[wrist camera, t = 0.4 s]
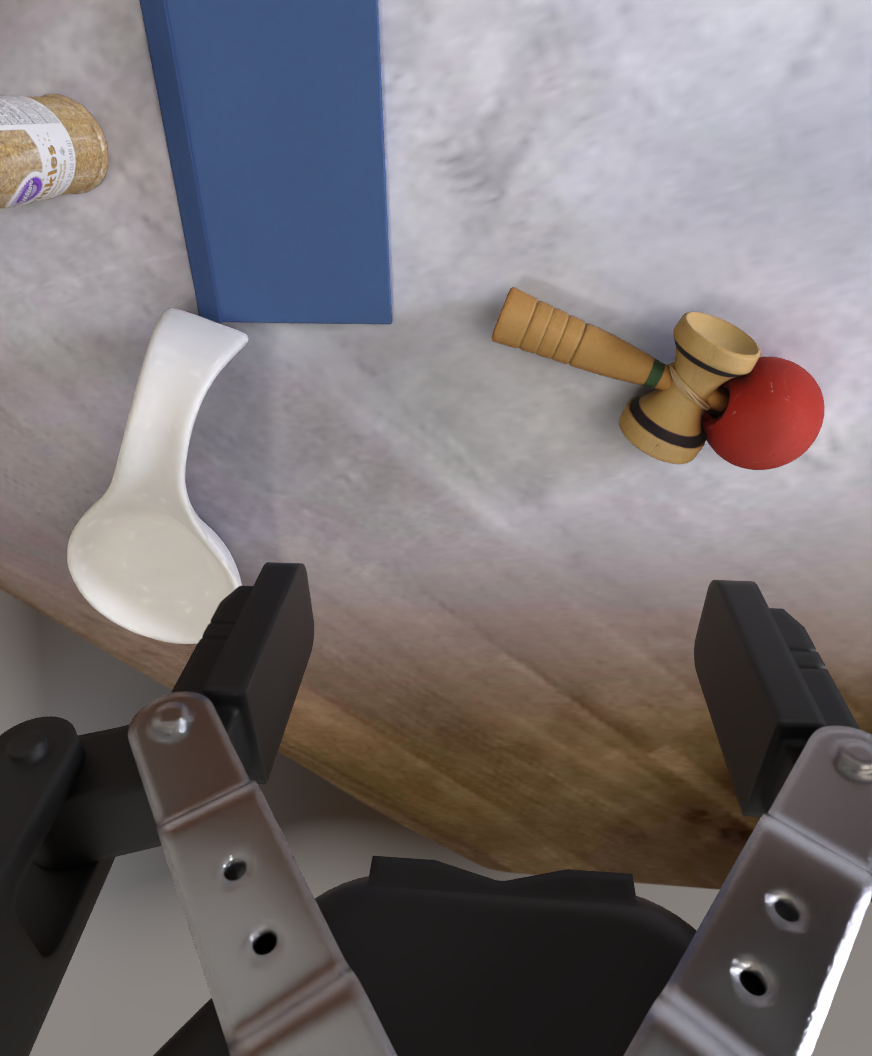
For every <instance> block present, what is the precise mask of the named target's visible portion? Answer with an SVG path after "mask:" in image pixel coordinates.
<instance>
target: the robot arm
mask: <svg viewBox="0 0 872 1056" xmlns="http://www.w3.org/2000/svg"><path fill="white" fill-rule="evenodd" d="M313 639H314V620H313V613H312V606H311V599H310V592H309V585H308V578H307V572H306V568H305V566H304V564H300V563H273V562H267V563H265V565H264V566H263V568H262V570H261V572H260V574H259V576H258V578H257V580H256V582H255V584H254V586H239V587H237V588H236V589H235V590H234V591H233V592H231V593H230V594H229V595H228V596H227V597H226V598H224V599H223V600H222V601H221V602H220V604H219V605H218V607H217V609H216V611H215V613H214V615H213V617H212V618H211V623H210V624H208V626H207V628H206V629H205V631H204V633H203V637H202V639H200V640H199V642H198V644H197V646H196V648H195V650H194V652H193V653H192V655H191V657H190V659H189V661H188V663H187V664H186V666H185V668H184V670H183V672H182V674H181V675H180V677H179V679H178V681H177V683H176V685H175V686H174V688H173V690H172V692H171V693H170V694H167V695H164V696H161V697H159V698H157V699H155V700H153V701H151V702H150V703H148V704H147V705H145V706H144V707H143V708H142V709H141V710H140V711H139V712H138V713H137V714H136V715H135V716H134V718H133V719H132V721H131V723H130V724H129V725H126V726H122V727H118V728H114V729H109V730H103V731H98V732H94V733H89V734H84V735H79V736H78V735H77V733H76V730H75V728H74V727H73V725H72V724H71V723H70V722H69V721H67V720H65V719H63V718H59V717H41V718H35V719H31V720H28V721H25V722H23V723H20V724H18V725H16V726H14V727H12V728H10V729H9V730H7V731H6V732H4V733H3V734H2V735H1V736H0V1056H29V1054H30V1052H31V1050H32V1047H33V1045H34V1043H35V1041H36V1038H37V1036H38V1034H39V1031H40V1029H41V1027H42V1024H43V1022H44V1020H45V1018H46V1015H47V1013H48V1011H49V1008H50V1006H51V1004H52V1002H53V999H54V997H55V995H56V992H57V990H58V988H59V985H60V983H61V981H62V978H63V976H64V974H65V972H66V969H67V967H68V965H69V962H70V960H71V958H72V956H73V953H74V951H75V949H76V946H77V944H78V942H79V940H80V937H81V935H82V933H83V930H84V928H85V926H86V923H87V921H88V919H89V916H90V914H91V912H92V910H93V907H94V905H95V903H96V900H97V898H98V896H99V894H100V891H101V889H102V887H103V884H104V882H105V880H106V877H107V875H108V873H109V871H110V868H111V866H112V864H113V861H114V859H115V857H116V856H120V855H125V854H128V853H133V852H137V851H141V850H145V849H150V848H154V847H158V846H162V847H163V850H164V853H165V856H166V859H167V862H168V866H169V868H170V871H171V875H172V878H173V881H174V884H175V887H176V890H177V893H178V896H179V899H180V902H181V905H182V908H183V911H184V914H185V917H186V920H187V923H188V927H189V930H190V933H191V935H192V939H193V942H194V945H195V948H196V950H197V954H198V957H199V960H200V963H201V966H202V969H203V972H204V975H205V978H206V981H207V984H208V987H209V990H210V994H211V997H212V998H211V999H210V1000H209V1001H208V1002H207V1003H206V1004H205V1005H204V1006H203V1007H202V1008H201V1009H200V1010H199V1011H198V1012H197V1013H196V1014H195V1015H194V1016H193V1017H192V1018H191V1019H190V1020H189V1021H188V1022H187V1023H186V1024H185V1025H184V1026H183V1027H181V1028H180V1029H179V1030H178V1031H177V1033H175V1035H173V1037H171V1038H170V1039H169V1040H168V1042H166V1043H165V1044H164V1045H163V1046H162V1047H161V1048H160V1049H159V1050H158V1051H157V1052H156V1053H155V1054H154V1055H153V1056H811V1054H812V1051H813V1049H814V1046H815V1043H816V1041H817V1038H818V1036H819V1033H820V1030H821V1027H822V1025H823V1022H824V1019H825V1017H826V1014H827V1012H828V1009H829V1006H830V1004H831V1001H832V998H833V996H834V993H835V991H836V988H837V985H838V983H839V980H840V977H841V974H842V972H843V969H844V967H845V964H846V961H847V959H848V956H849V953H850V951H851V948H852V946H853V943H854V940H855V938H856V935H857V932H858V930H859V927H860V924H861V922H862V919H863V916H864V914H865V911H866V908H867V906H868V903H869V901H870V900H872V735H871V734H869V733H867V732H864V731H862V730H860V728H859V727H858V725H857V723H856V721H855V719H854V718H853V716H852V714H851V712H850V710H849V708H848V707H847V705H846V703H845V701H844V699H843V697H842V696H841V694H840V692H839V690H838V688H837V686H836V685H835V683H834V681H833V679H832V677H831V675H830V674H829V672H828V670H827V669H825V664H824V663H823V661H822V659H821V657H820V655H819V653H818V652H816V651H815V646H814V644H813V642H812V641H811V639H810V637H809V635H808V633H807V632H806V630H805V628H804V627H803V626H802V625H801V624H800V623H799V622H798V621H796V620H795V619H794V618H793V617H792V616H791V615H789V614H788V613H787V612H786V611H785V610H784V609H775V608H769V607H768V605H767V603H766V601H765V599H764V597H763V595H762V593H761V591H760V589H759V587H758V586H757V584H756V583H755V582H752V581H726V580H713V581H712V582H711V583H710V585H709V587H708V591H707V595H706V599H705V603H704V607H703V611H702V615H701V619H700V623H699V627H698V631H697V635H696V639H695V645H694V661H695V668H696V672H697V675H698V678H699V681H700V684H701V688H702V691H703V694H704V697H705V700H706V703H707V706H708V709H709V712H710V715H711V718H712V722H713V725H714V728H715V731H716V734H717V737H718V740H719V743H720V746H721V749H722V752H723V756H724V759H725V762H726V765H727V768H728V771H729V774H730V777H731V780H732V783H733V786H734V790H735V793H736V796H737V799H738V802H739V805H740V808H741V811H742V814H743V816H751V817H761V819H760V820H759V822H758V824H757V825H756V827H755V829H754V831H753V832H752V834H751V836H750V838H749V840H748V841H747V843H746V845H745V847H744V848H743V850H742V852H741V854H740V856H739V857H738V859H737V861H736V863H735V864H734V866H733V868H732V870H731V871H730V873H729V875H728V877H727V879H726V880H725V882H724V884H723V886H722V887H721V889H720V891H719V893H718V894H717V896H716V898H715V900H714V902H713V904H712V905H711V907H710V909H709V911H708V912H707V914H706V916H705V918H704V919H703V921H702V923H701V925H700V926H699V928H698V930H697V931H696V930H695V929H694V928H693V927H692V926H690V925H689V924H688V923H686V922H685V921H684V920H682V919H681V918H680V917H678V916H677V915H675V914H674V913H672V912H670V911H668V910H666V909H665V908H663V907H662V906H660V905H657V904H655V903H653V902H651V901H649V900H646V899H644V898H641V897H638V896H636V894H635V888H634V882H633V875H632V874H626V873H612V872H597V871H583V870H569V869H567V870H561V871H556V872H550V873H545V874H540V875H534V876H529V877H524V878H518V879H513V880H508V881H498V880H493V879H490V878H487V877H484V876H481V875H478V874H475V873H472V872H469V871H466V870H463V869H460V868H457V867H454V866H451V865H448V864H445V863H442V862H439V861H436V860H425V859H411V858H397V857H382V856H373V857H372V863H371V869H370V875H369V876H368V877H363V878H358V879H355V880H352V881H349V882H346V883H343V884H341V885H339V886H337V887H335V888H332V889H330V890H328V891H327V892H325V893H323V894H322V895H320V896H319V897H317V898H316V899H315V898H314V897H313V894H312V892H311V890H310V888H309V887H308V884H307V882H306V880H305V878H304V876H303V874H302V872H301V870H300V869H299V866H298V864H297V862H296V860H295V858H294V856H293V854H292V852H291V850H290V848H289V846H288V844H287V842H286V840H285V838H284V836H283V834H282V832H281V830H280V828H279V826H278V824H277V822H276V820H275V818H274V816H273V814H272V812H271V810H270V808H269V806H268V804H267V802H266V800H265V798H264V796H263V794H262V792H261V790H260V788H259V786H258V784H267V781H268V778H269V775H270V772H271V770H272V766H273V764H274V761H275V757H276V755H277V752H278V749H279V746H280V743H281V740H282V737H283V734H284V731H285V728H286V725H287V722H288V719H289V716H290V713H291V710H292V707H293V704H294V701H295V698H296V695H297V692H298V690H299V687H300V684H301V681H302V678H303V675H304V672H305V669H306V666H307V663H308V660H309V657H310V654H311V651H312V646H313Z"/></svg>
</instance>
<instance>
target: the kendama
mask: <svg viewBox="0 0 872 1056" xmlns="http://www.w3.org/2000/svg"><path fill="white" fill-rule="evenodd" d="M674 339H675V344H676V358H675V362H672V363H671V364H669V365H666V364H663V363H661V362H660V361H659V360H657V359H655V358H653V357H652V356H650V355H648V354H647V353H645V352H643V351H641V350H640V349H638V348H636V347H634V346H633V345H631V344H629V343H627V342H625V341H623V340H621V339H620V338H618V337H616V336H614V335H612V334H610V333H608V332H606V331H604V330H602V329H600V328H597V327H595V326H593V325H591V324H585V322H584V321H582V320H580V319H578V318H576V317H574V316H569V315H568V314H567V313H565V312H563V311H561V310H559V309H556V308H554V307H552V306H550V305H548V304H546V303H544V302H541V301H537V299H536V298H534V297H532V296H530V295H528V294H526V293H524V292H522V291H520V290H518V289H516V288H514V287H513V288H511V289H510V291H509V293H508V295H507V297H506V300H505V303H504V305H503V307H502V310H501V313H500V315H499V317H498V320H497V323H496V325H495V328H494V331H493V335H492V341H494V342H497V343H500V344H504V345H507V346H511V347H514V348H519V347H520V348H521V350H524V351H528V352H531V353H536V354H538V355H540V356H543V357H547V358H552V359H553V360H556V361H558V362H562V363H564V364H567V363H569V364H570V365H571V366H573V367H577V368H580V369H583V370H586V371H589V372H592V373H596V374H599V375H603V376H606V377H610V378H614V379H618V380H623V381H626V382H630V383H634V384H639V385H643V386H648V387H653V388H656V390H654V391H653V392H651V393H649V394H647V395H643V396H640V397H635V398H632V399H631V400H629V402H628V403H627V405H626V406H625V408H624V410H623V412H622V414H621V416H620V418H619V426H620V429H621V431H622V433H623V434H624V435H625V437H626V438H627V439H628V440H629V441H630V442H631V443H632V444H633V445H634V446H636V447H637V448H638V449H640V450H641V451H643V452H644V453H646V454H648V455H650V456H651V457H654V458H656V459H658V460H661V461H664V462H668V463H673V464H684V463H688V462H690V461H692V460H693V459H694V458H695V456H696V455H697V454H698V452H699V451H700V450H701V448H702V447H703V446H704V444H705V441H706V439H707V441H708V443H709V444H710V445H711V447H712V448H713V450H714V451H715V452H716V453H717V454H718V455H719V456H720V457H722V458H723V459H724V460H726V461H727V462H729V463H731V464H733V465H735V466H738V467H741V468H746V469H752V470H766V469H772V468H777V467H780V466H783V465H785V464H788V463H790V462H792V461H793V460H795V459H797V458H798V457H800V456H801V455H802V454H803V453H804V452H805V451H807V450H808V448H809V447H810V446H811V445H812V443H813V442H814V441H815V439H816V437H817V435H818V434H819V431H820V429H821V426H822V423H823V418H824V400H823V395H822V392H821V390H820V387H819V386H818V384H817V382H816V381H815V379H814V378H813V377H812V376H811V375H810V374H809V373H808V372H807V371H806V370H805V369H803V368H802V367H800V366H799V365H797V364H795V363H793V362H791V361H788V360H785V359H782V358H777V357H760V349H759V347H758V345H757V344H756V342H755V341H754V340H753V339H752V338H751V337H750V336H748V335H747V334H746V333H745V332H744V331H742V330H740V329H739V328H737V327H736V326H734V325H732V324H730V323H729V322H726V321H724V320H722V319H720V318H717V317H714V316H711V315H708V314H704V313H699V312H689V313H685V314H684V315H683V317H682V318H681V320H680V321H679V322H678V324H677V325H676V327H675V328H674Z"/></svg>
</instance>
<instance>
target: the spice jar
mask: <svg viewBox="0 0 872 1056" xmlns="http://www.w3.org/2000/svg"><path fill="white" fill-rule="evenodd" d="M107 167H108V152H107V143H106V141H105V139H104V136H103V133H102V131H101V129H100V127H99V125H98V124H97V122H96V121H95V120H94V118H93V117H92V115H91V114H90V113H89V112H88V111H87V110H86V109H85V108H84V107H83V106H82V105H80V104H79V103H77V102H75V101H73V100H72V99H70V98H68V97H65V96H62V95H57V94H47V95H44V96H40V97H23V96H15V95H10V96H6V95H0V208H9V207H15V206H20V205H25V204H30V203H34V202H39V201H43V200H48V199H52V198H55V197H57V196H59V195H64V194H68V193H69V194H81V193H84V192H88V191H90V190H91V189H93V188H95V187H96V186H97V185H99V184H100V182H101V181H102V179H103V178H104V177H105V174H106V170H107Z"/></svg>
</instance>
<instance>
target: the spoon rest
mask: <svg viewBox="0 0 872 1056" xmlns="http://www.w3.org/2000/svg"><path fill="white" fill-rule="evenodd" d="M247 341H248V336H247V335H246V334H244V333H243V332H241V331H239V330H236V329H233V328H231V327H228V326H225V325H222V324H219V323H216V322H214V321H211V320H208V319H206V318H203V317H200V316H198V315H195V314H192V313H189V312H185V311H182V310H178V309H173V308H169V309H167V310H165V312H164V313H163V314H162V316H161V317H160V319H159V320H158V322H157V324H156V326H155V328H154V330H153V333H152V336H151V338H150V341H149V344H148V348H147V351H146V354H145V358H144V361H143V365H142V368H141V372H140V376H139V380H138V383H137V387H136V391H135V395H134V398H133V402H132V406H131V409H130V413H129V417H128V420H127V424H126V428H125V432H124V436H123V439H122V443H121V448H120V452H119V456H118V460H117V464H116V468H115V472H114V475H113V479H112V482H111V484H110V486H109V488H108V490H107V491H106V493H105V494H104V495H103V496H102V497H101V498H100V499H99V500H98V501H97V502H96V503H95V504H94V505H93V506H91V507H90V508H89V510H88V511H87V512H86V513H85V514H84V515H83V516H82V517H81V519H80V520H79V521H78V523H77V525H76V526H75V528H74V530H73V532H72V534H71V537H70V539H69V543H68V548H67V562H68V567H69V570H70V573H71V576H72V579H73V580H74V582H75V584H76V586H77V588H78V589H79V591H80V592H81V594H82V595H83V596H84V598H85V599H86V600H87V601H88V602H89V603H90V604H91V605H92V606H93V607H94V608H95V609H96V610H97V611H98V612H100V613H101V614H102V615H103V616H105V617H106V618H108V619H109V620H111V621H112V622H114V623H116V624H118V625H120V626H121V627H123V628H125V629H127V630H129V631H132V632H134V633H137V634H140V635H143V636H146V637H149V638H153V639H156V640H160V641H164V642H169V643H179V644H196V643H198V642H199V640H200V639H202V637H203V633H204V631H205V629H206V628H207V626H208V624H210V623H211V618H212V617H213V615H214V613H215V611H216V609H217V607H218V605H219V604H220V602H221V601H222V600H223V599H224V598H226V597H227V596H228V595H229V594H230V593H231V592H233V591H234V590H235V589H236V588H237V587H239V586H242V583H241V579H240V575H239V572H238V569H237V567H236V564H235V562H234V560H233V557H232V555H231V553H230V552H229V550H228V549H227V547H226V545H225V544H224V543H223V542H222V540H221V539H220V538H219V536H218V535H217V534H216V533H215V532H214V531H213V530H212V529H211V528H210V527H209V526H208V525H206V524H205V523H204V522H203V521H202V520H201V519H200V518H199V517H198V515H197V514H196V512H195V511H194V509H193V507H192V506H191V503H190V501H189V498H188V495H187V490H186V484H185V468H186V459H187V453H188V447H189V442H190V437H191V433H192V429H193V425H194V422H195V419H196V416H197V413H198V410H199V408H200V405H201V403H202V401H203V399H204V397H205V395H206V393H207V391H208V389H209V388H210V386H211V384H212V382H213V381H214V379H215V378H216V377H217V375H218V374H219V373H220V371H221V370H222V369H223V368H224V367H225V366H226V365H227V363H228V362H229V361H230V360H231V359H232V358H233V357H234V356H235V355H236V354H237V353H238V352H239V351H240V350H241V349H242V348H243V347H244V346H245V345H246V343H247Z"/></svg>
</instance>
